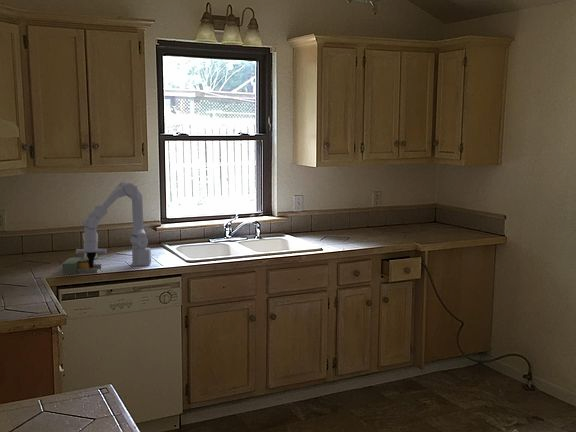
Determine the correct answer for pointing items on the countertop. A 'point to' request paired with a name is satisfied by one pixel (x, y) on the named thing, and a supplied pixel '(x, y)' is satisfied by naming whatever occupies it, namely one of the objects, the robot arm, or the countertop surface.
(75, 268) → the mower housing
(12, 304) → the countertop surface
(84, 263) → the orange-topped grey cube
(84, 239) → the syrup box
